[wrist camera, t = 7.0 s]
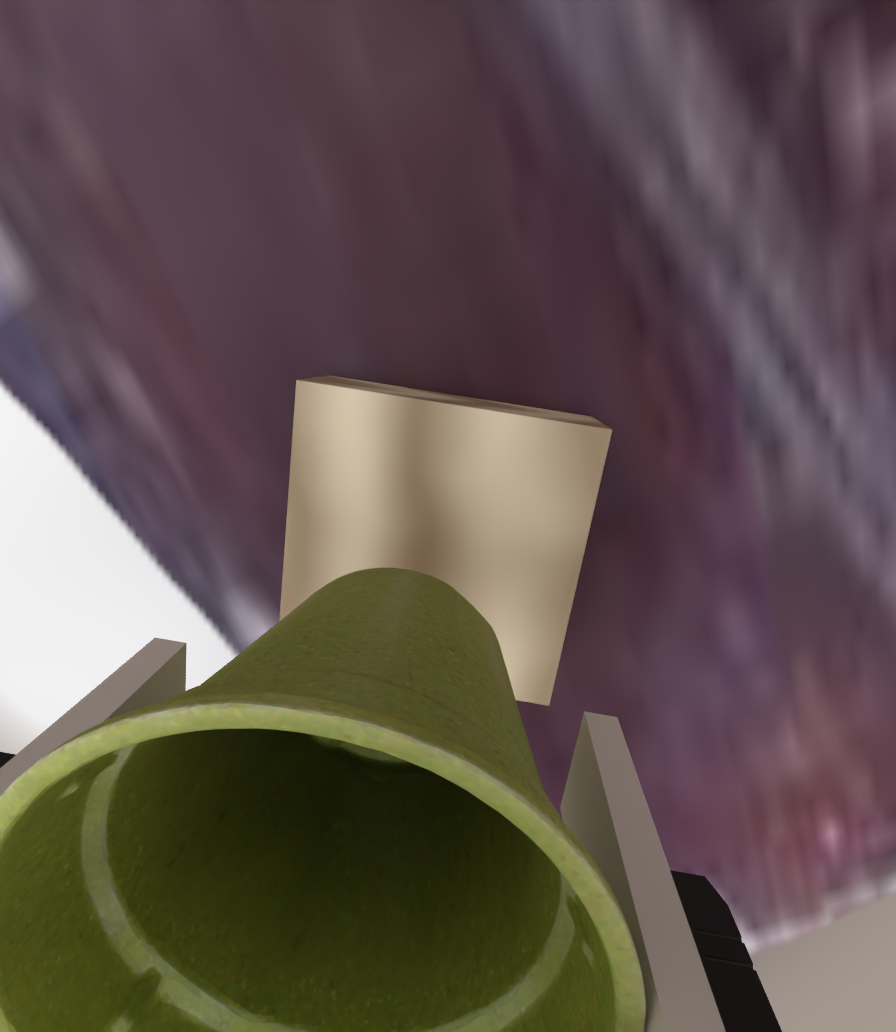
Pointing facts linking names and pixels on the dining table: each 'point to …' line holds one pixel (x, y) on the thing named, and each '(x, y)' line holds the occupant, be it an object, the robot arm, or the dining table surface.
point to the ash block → (447, 505)
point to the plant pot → (313, 847)
